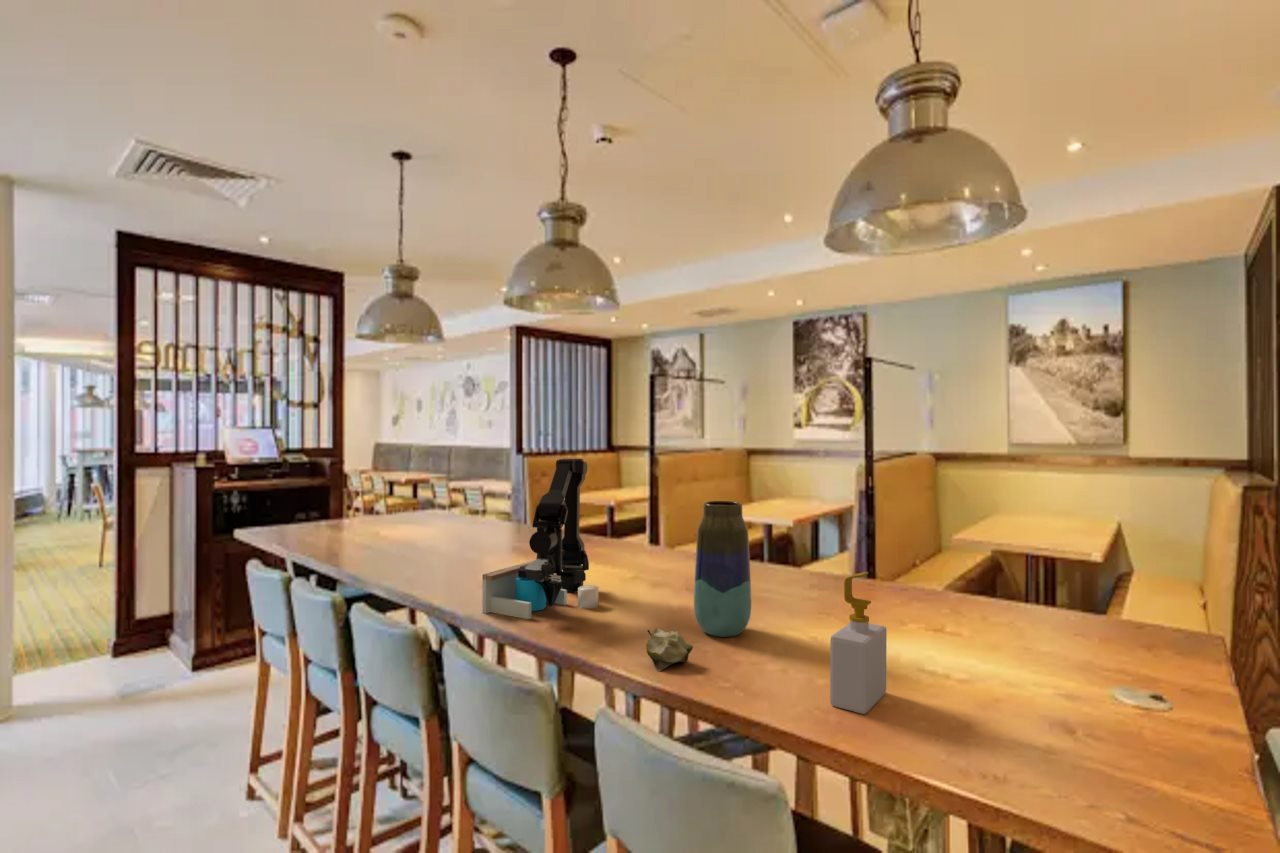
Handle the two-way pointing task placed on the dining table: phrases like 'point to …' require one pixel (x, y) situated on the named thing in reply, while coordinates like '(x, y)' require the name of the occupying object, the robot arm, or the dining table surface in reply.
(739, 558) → the vase
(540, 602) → the mug
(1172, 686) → the dining table surface
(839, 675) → the soap bottle
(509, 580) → the counter bay
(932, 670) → the dining table surface
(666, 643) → the fruit
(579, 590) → the cream rounded cylinder
